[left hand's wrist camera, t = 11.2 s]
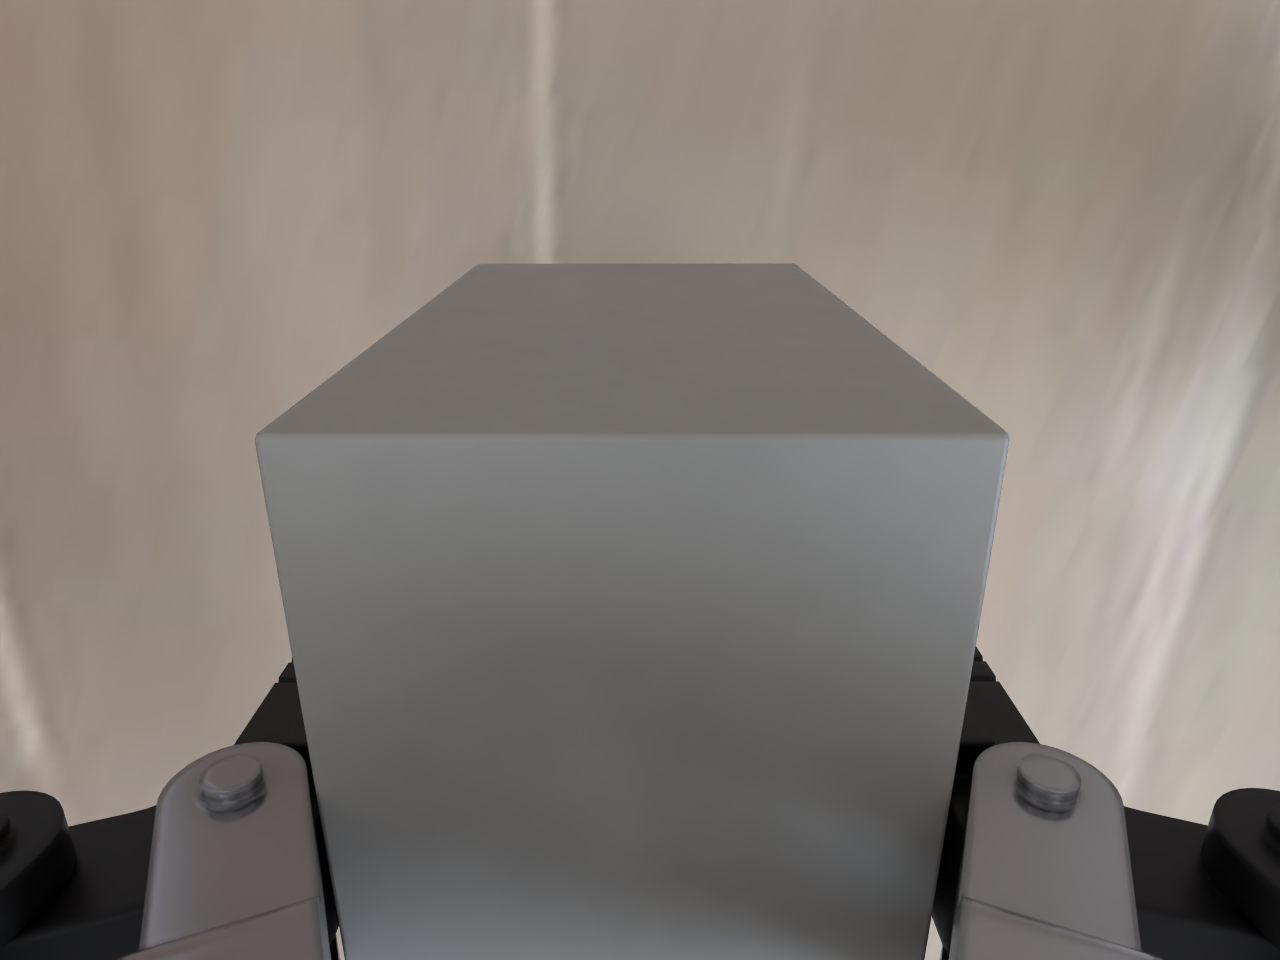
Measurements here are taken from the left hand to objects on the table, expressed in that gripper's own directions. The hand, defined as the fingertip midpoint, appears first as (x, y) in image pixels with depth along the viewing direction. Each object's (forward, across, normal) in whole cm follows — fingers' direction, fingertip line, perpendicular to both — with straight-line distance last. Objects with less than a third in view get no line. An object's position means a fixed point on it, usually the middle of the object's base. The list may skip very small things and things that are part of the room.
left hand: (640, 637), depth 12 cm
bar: (+5, 0, -9) cm, 10 cm away
